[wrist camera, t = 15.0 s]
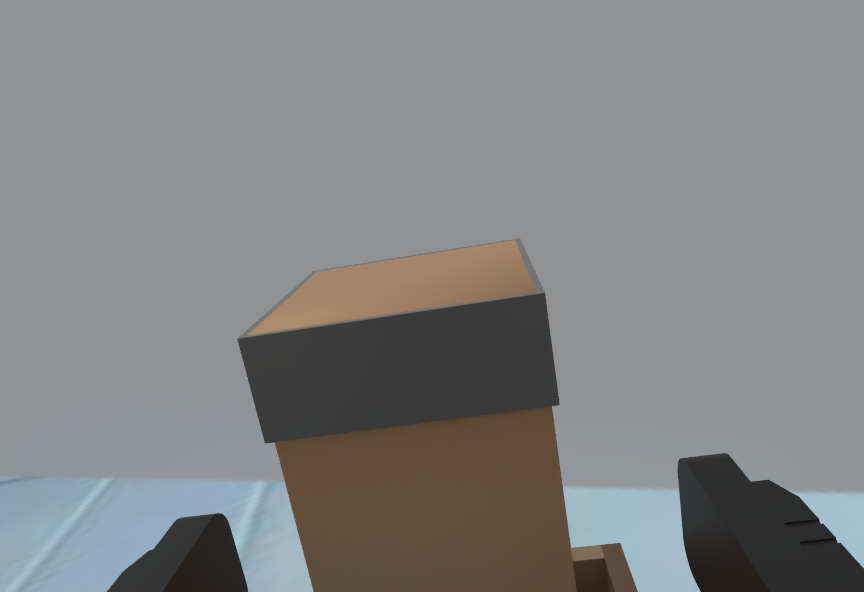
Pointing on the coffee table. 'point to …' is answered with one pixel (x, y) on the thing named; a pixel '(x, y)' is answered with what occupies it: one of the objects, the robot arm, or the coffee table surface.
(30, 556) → the coffee table surface
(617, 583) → the walnut box
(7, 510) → the coffee table surface
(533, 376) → the brown tall square block
